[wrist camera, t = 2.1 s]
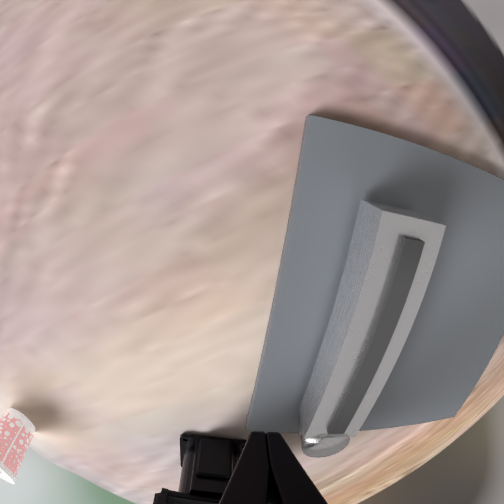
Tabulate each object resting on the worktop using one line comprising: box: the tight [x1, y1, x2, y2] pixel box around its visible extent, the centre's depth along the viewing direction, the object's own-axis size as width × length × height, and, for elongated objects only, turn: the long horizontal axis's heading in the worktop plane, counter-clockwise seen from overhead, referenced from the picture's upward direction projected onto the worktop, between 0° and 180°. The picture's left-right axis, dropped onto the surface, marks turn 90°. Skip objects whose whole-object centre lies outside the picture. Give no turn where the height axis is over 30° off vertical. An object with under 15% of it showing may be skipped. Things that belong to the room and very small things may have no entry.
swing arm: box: [298, 199, 446, 457], centre depth 18 cm, size 19×4×3 cm, turn 172°
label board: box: [246, 115, 504, 433], centre depth 20 cm, size 24×23×1 cm
